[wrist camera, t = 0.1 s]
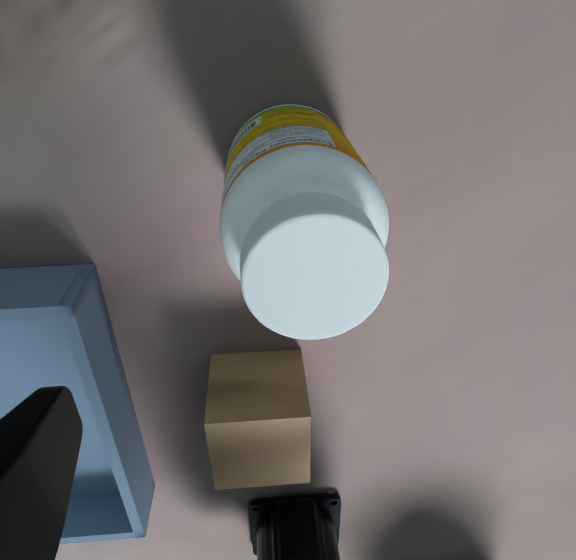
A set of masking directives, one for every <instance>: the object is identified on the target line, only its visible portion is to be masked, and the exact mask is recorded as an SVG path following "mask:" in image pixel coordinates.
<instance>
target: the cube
mask: <svg viewBox="0 0 576 560" xmlns="http://www.w3.org/2000/svg"><path fill="white" fill-rule="evenodd" d="M204 428H205V434H206V440H207V446H208V452H209V458H210V464H211V470H212V476H213V483H214V489H215V490H223V489H236V488H249V487H262V486H275V485H288V484H301V483H310V460H311V413H310V406H309V400H308V393H307V386H306V380H305V373H304V366H303V359H302V353H301V349H290V350H274V351H257V352H241V353H224V354H211V359H210V369H209V379H208V389H207V399H206V409H205V419H204Z"/></svg>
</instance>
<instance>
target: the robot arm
mask: <svg viewBox="0 0 576 560" xmlns="http://www.w3.org/2000/svg"><path fill="white" fill-rule="evenodd" d="M82 435H83V425H82V420H81V417H80V415H79V412H78V409H77V406H76V403H75V401H74V398H73V395H72V393H71V391H70V389H69V388H68V387H66V386H51V387H42V388H39V389H37V390H35V391H34V392H33V393H32V394H30V395H29V396H28V397H27V398H25V399H24V400H23V401H22V402H21V403H19V404H18V405H17V406H16V407H14V408H13V409H12V410H11V411H10V412H8V413H7V414H6V415H5V416H3V417H2V418H1V419H0V560H55V557H56V554H57V550H58V547H59V543H60V540H61V537H62V533H63V529H64V524H65V520H66V516H67V511H68V506H69V501H70V496H71V491H72V486H73V481H74V476H75V471H76V466H77V461H78V456H79V451H80V446H81V441H82ZM340 511H341V499H340V496H339V495H338V494H324V495H311V496H298V497H285V498H272V499H259V500H253V501H251V502H250V503H249V516H250V525H251V535H252V544H253V553H254V554H255V555H257V560H340V557H339V551H338V539H339V525H340Z"/></svg>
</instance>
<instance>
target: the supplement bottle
mask: <svg viewBox="0 0 576 560" xmlns="http://www.w3.org/2000/svg"><path fill="white" fill-rule="evenodd" d="M388 231H389V216H388V210H387V205H386V202H385V199H384V196H383V194H382V192H381V190H380V188H379V186H378V184H377V182H376V181H375V179H374V177H373V176H372V174H371V173H370V171H369V170H368V168H367V167H366V165H365V164H364V163H363V161H362V160H361V158H360V157H359V155H358V154H357V152H356V151H355V149H354V148H353V146H352V145H351V143H350V142H349V140H348V139H347V137H346V136H345V135H344V133H343V132H342V130H341V129H340V128H339V127H338V126H337V124H336V123H335V122H334V121H333V120H332V119H330V118H329V117H328V116H327V115H325V114H324V113H322V112H320V111H318V110H316V109H314V108H311V107H308V106H303V105H297V104H284V105H277V106H273V107H270V108H267V109H265V110H263V111H261V112H259V113H257V114H256V115H255V116H253V117H252V118H250V119H249V120H248V121H247V122H246V123H245V124H244V125H243V126H242V127H241V129H240V130H239V131H238V133H237V134H236V136H235V138H234V140H233V142H232V144H231V147H230V150H229V154H228V158H227V164H226V172H225V182H224V190H223V198H222V207H221V214H220V237H221V244H222V249H223V252H224V256H225V258H226V260H227V263H228V265H229V266H230V268H231V270H232V271H233V273H234V274H235V275H236V277H237V278H238V279H239V280H240V282H241V290H242V294H243V297H244V300H245V302H246V304H247V306H248V308H249V310H250V311H251V312H252V314H253V315H254V316H255V317H256V318H257V319H258V321H259V322H261V323H262V324H263V325H264V326H266V327H267V328H269V329H270V330H272V331H274V332H276V333H279V334H281V335H284V336H287V337H291V338H296V339H305V340H315V339H324V338H329V337H333V336H336V335H339V334H342V333H344V332H346V331H348V330H350V329H352V328H353V327H355V326H357V325H358V324H360V323H361V322H362V321H364V320H365V319H366V318H367V317H368V316H369V315H370V314H371V313H372V312H373V311H374V309H375V308H376V307H377V305H378V304H379V303H380V301H381V299H382V297H383V295H384V292H385V290H386V287H387V282H388V277H389V263H388V258H387V254H386V251H385V245H386V242H387V238H388Z"/></svg>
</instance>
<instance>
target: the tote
mask: <svg viewBox="0 0 576 560" xmlns="http://www.w3.org/2000/svg"><path fill="white" fill-rule="evenodd" d="M51 386H66V387H68V388H69V389H70V391H71V393H72V395H73V398H74V401H75V403H76V406H77V409H78V412H79V415H80V417H81V420H82V425H83V435H82V441H81V446H80V451H79V456H78V461H77V466H76V471H75V476H74V481H73V486H72V491H71V496H70V501H69V506H68V511H67V516H66V520H65V524H64V529H63V533H62V537H61V540H60V543H59V544H66V543H79V542H91V541H103V540H116V539H128V538H140V537H145V536H146V530H147V525H148V520H149V514H150V509H151V504H152V498H153V493H154V488H155V484H154V480H153V477H152V473H151V469H150V466H149V462H148V458H147V455H146V451H145V447H144V444H143V440H142V436H141V433H140V429H139V425H138V422H137V418H136V414H135V410H134V407H133V403H132V399H131V396H130V392H129V388H128V385H127V381H126V377H125V374H124V370H123V366H122V363H121V359H120V355H119V352H118V348H117V344H116V341H115V337H114V333H113V330H112V326H111V322H110V319H109V315H108V311H107V307H106V304H105V300H104V296H103V293H102V289H101V285H100V282H99V278H98V274H97V271H96V267H95V264H79V265H60V266H40V267H20V268H0V419H1V418H2V417H3V416H5V415H6V414H7V413H8V412H10V411H11V410H12V409H13V408H14V407H16V406H17V405H18V404H19V403H21V402H22V401H23V400H24V399H25V398H27V397H28V396H29V395H30V394H32V393H33V392H34V391H35V390H37V389H39V388H42V387H51Z"/></svg>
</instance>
